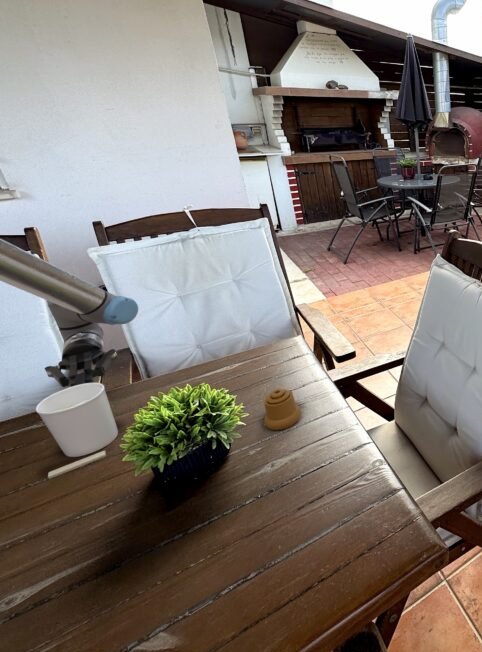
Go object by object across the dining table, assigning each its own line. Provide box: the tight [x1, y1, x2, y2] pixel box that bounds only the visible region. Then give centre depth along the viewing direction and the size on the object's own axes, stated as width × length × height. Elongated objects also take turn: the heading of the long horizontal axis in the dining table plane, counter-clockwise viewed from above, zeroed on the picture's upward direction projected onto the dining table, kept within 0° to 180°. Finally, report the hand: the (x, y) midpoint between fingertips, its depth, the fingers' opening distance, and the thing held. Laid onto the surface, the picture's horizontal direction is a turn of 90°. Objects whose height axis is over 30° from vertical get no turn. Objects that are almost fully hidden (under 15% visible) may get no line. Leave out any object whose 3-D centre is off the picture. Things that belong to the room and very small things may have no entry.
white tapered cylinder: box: [35, 382, 119, 458], centre depth 84 cm, size 10×10×12 cm
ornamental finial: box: [263, 388, 302, 431], centre depth 91 cm, size 8×8×8 cm
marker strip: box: [47, 450, 107, 480], centre depth 80 cm, size 8×2×1 cm, turn 135°
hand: (81, 390), depth 91 cm, fingers closed
